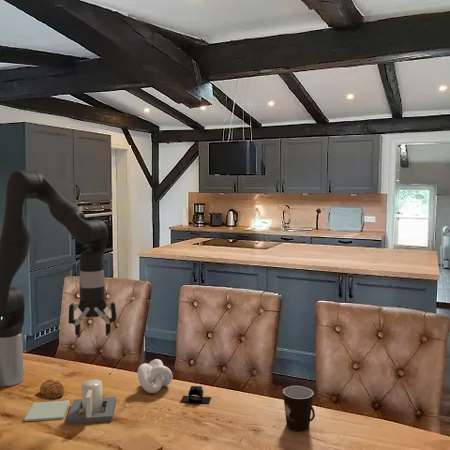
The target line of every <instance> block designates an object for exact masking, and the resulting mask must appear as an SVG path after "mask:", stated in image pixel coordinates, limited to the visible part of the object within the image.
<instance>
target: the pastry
mask: <svg viewBox="0 0 450 450" xmlns="http://www.w3.org/2000/svg"><path fill="white" fill-rule="evenodd" d="M39 391H40V393H41V394H40V395H42V396H44V397H46V398H50V399H57V398H59V397H61V396H64V394H65V388H64V385H63V384H62V382H60V381H58V380H55V379H52V378H51V379H47V380H45V381H44V382H42V383H41V384H40V388H39Z"/></svg>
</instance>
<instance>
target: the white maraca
mask: <svg viewBox="0 0 450 450" xmlns="http://www.w3.org/2000/svg"><path fill="white" fill-rule="evenodd" d="M102 398H103V381H102V380H100V379H88V380H85V381H83V382H82V383H81V399H82V407H81V414H86V418H91V414H92V413H104V412H103V410H104V409H103V408H104V406H103V401H102Z"/></svg>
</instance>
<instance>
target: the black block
mask: <svg viewBox="0 0 450 450" xmlns="http://www.w3.org/2000/svg"><path fill="white" fill-rule="evenodd" d="M204 393H205V392H204V389H203V386H200V385H191V386H190V388H189V391H188V394H187V395H182V397H181V399H180V401H179V404H190V405H191V404H193V405H206V406H207V405H208V406H209V405H210V403H211V399H212V396H204Z"/></svg>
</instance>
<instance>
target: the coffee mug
mask: <svg viewBox="0 0 450 450" xmlns="http://www.w3.org/2000/svg"><path fill="white" fill-rule="evenodd" d="M314 394H315V393H314V391H313V390H312V389H310V388H309V387H305V386H301V385H300V386H299V385H290V386H287V387H285V388H283V390H282V396H283V403H284V405H283V406H284V414H285V423H286V428H287V429H288V430H289V431H293V432H299V433H301V432H303V433H304V432H306V431H308V430H309V429H310V423H311V422H312V421H313V420H314V419H315V416H316V414H315V409H314V407H313V401H314ZM311 415H312V417H311Z"/></svg>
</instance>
